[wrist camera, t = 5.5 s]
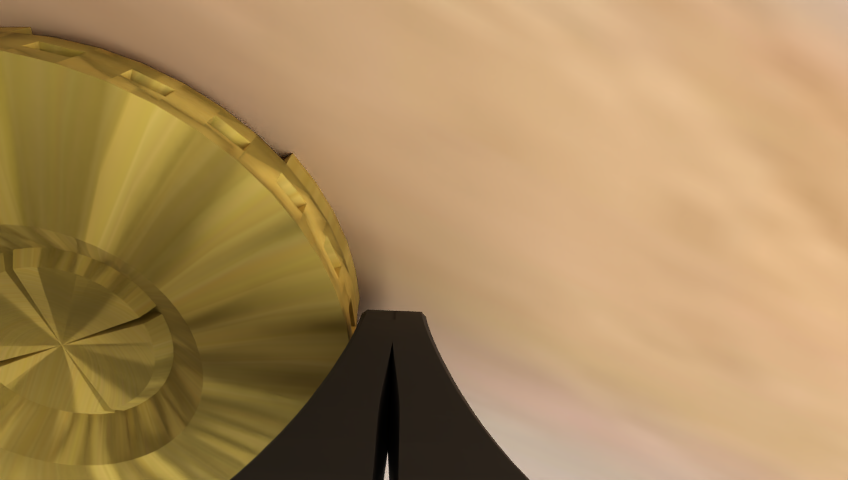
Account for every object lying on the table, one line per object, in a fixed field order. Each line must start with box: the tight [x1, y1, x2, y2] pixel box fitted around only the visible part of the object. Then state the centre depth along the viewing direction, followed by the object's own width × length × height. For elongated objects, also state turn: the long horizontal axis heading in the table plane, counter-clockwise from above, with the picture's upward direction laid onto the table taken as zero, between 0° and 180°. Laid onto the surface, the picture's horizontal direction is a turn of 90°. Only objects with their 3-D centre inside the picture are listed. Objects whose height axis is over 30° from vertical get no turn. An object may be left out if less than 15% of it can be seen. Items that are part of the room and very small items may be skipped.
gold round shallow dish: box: [0, 27, 360, 480], centre depth 12 cm, size 12×12×2 cm
